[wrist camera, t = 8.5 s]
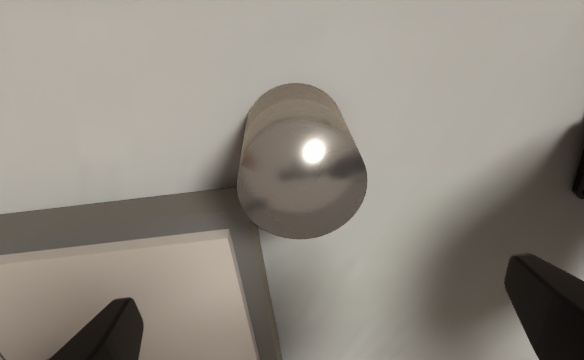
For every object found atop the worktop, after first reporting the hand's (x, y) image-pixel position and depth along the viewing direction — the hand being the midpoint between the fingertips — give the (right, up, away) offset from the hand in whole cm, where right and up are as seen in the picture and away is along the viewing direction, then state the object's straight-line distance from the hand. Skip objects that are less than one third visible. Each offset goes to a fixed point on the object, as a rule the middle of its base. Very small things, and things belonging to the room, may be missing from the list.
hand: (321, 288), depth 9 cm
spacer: (-1, +5, +8) cm, 10 cm away
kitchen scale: (-9, -5, +13) cm, 17 cm away
